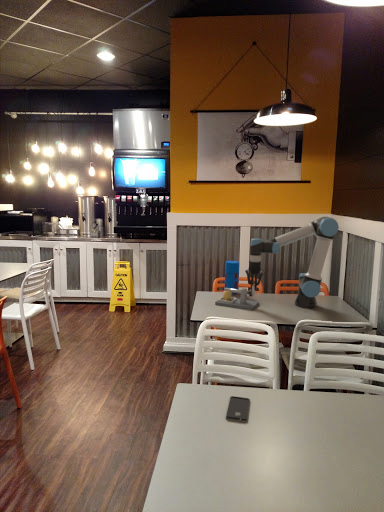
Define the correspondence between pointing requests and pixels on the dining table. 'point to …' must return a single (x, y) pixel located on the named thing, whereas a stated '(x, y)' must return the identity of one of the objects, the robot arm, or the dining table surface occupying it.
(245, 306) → the keeper base
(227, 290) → the retaining shaft
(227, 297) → the spacer collar
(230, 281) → the thermos
